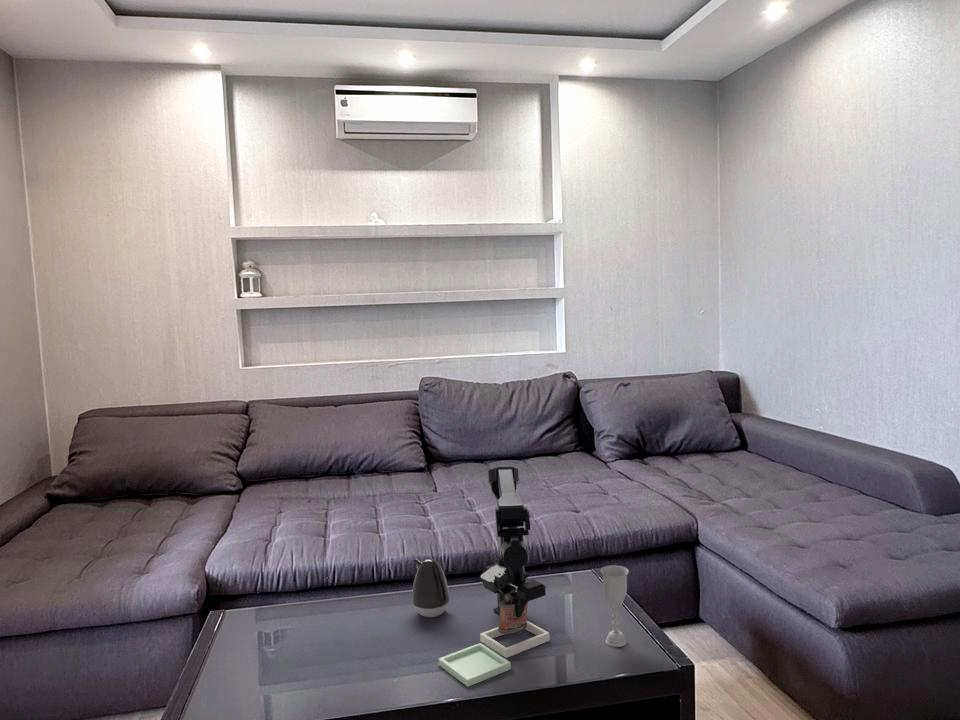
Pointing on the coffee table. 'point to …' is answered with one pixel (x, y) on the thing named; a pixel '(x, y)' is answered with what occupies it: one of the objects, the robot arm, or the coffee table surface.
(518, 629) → the lighter
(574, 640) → the coffee table surface
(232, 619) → the coffee table surface
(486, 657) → the tray
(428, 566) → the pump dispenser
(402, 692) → the coffee table surface
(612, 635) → the chalice
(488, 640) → the white picture frame
